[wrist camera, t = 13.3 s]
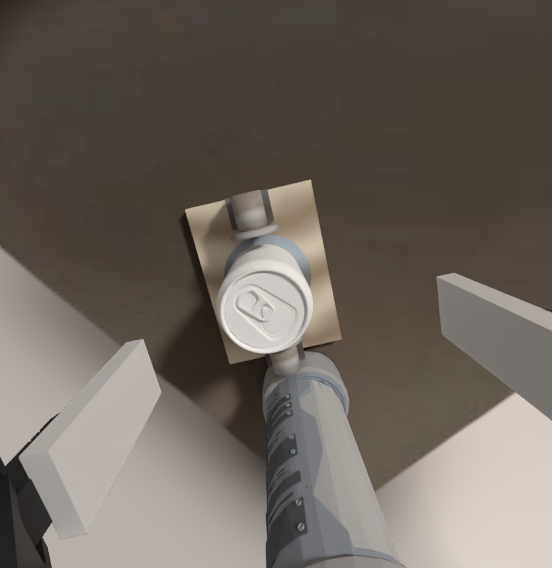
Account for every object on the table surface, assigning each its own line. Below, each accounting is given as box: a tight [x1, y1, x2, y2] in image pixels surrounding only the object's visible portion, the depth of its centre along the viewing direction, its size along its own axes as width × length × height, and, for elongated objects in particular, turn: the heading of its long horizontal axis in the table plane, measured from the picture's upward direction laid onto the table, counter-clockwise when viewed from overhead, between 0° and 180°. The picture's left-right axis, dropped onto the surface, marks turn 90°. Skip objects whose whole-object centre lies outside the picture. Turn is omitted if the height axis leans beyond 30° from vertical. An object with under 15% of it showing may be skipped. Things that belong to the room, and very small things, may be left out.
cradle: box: [185, 180, 341, 377], centre depth 35 cm, size 19×14×8 cm
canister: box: [263, 351, 406, 568], centre depth 28 cm, size 10×10×30 cm
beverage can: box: [216, 244, 313, 354], centre depth 32 cm, size 8×8×12 cm
